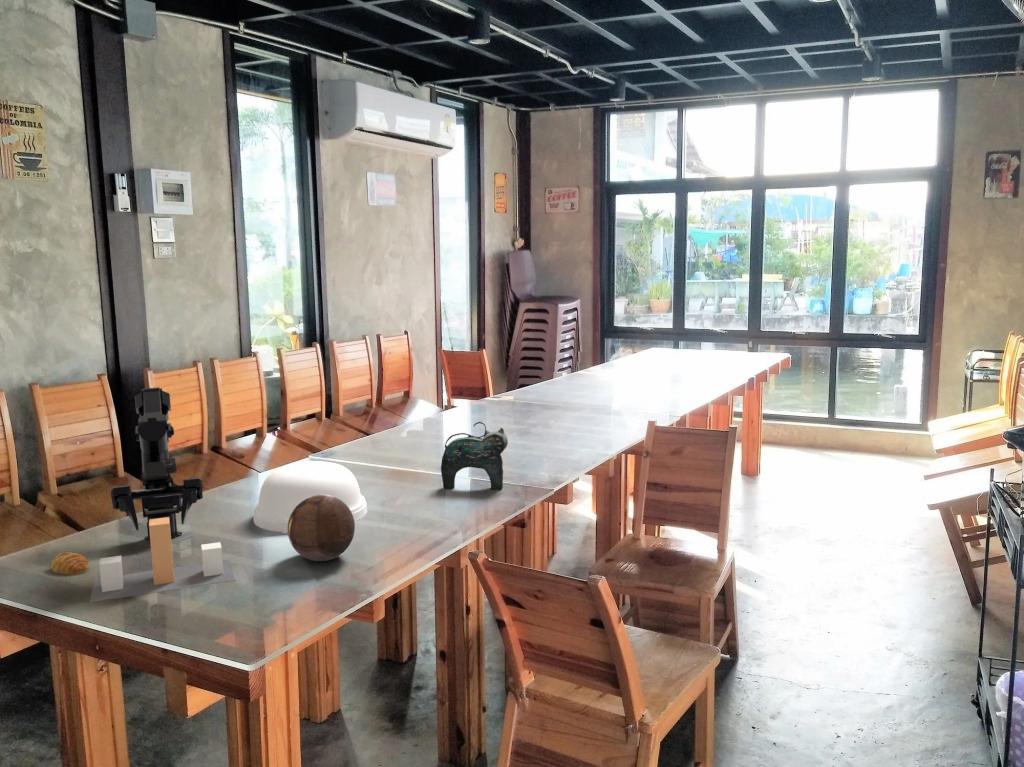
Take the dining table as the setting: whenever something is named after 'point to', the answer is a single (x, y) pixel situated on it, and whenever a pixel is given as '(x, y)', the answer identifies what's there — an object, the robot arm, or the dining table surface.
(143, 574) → the charcoal mat
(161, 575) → the tan wooden plank
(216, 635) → the dining table surface
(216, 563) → the white paddle
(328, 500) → the wooden sphere
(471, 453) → the ceramic cat
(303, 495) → the dome cover
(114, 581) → the white paddle
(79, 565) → the pastry
